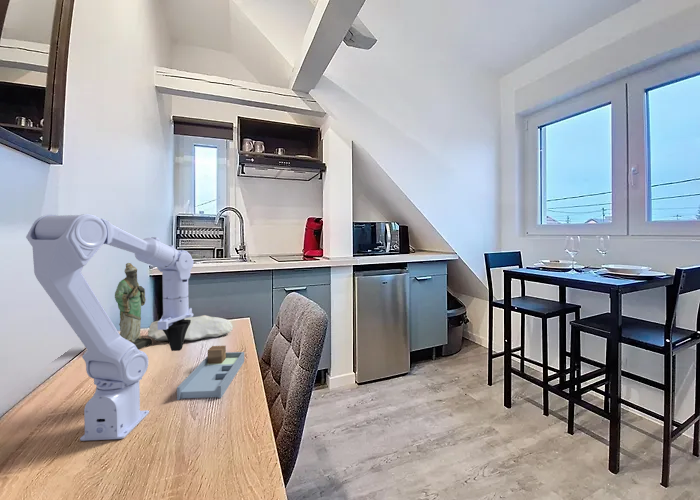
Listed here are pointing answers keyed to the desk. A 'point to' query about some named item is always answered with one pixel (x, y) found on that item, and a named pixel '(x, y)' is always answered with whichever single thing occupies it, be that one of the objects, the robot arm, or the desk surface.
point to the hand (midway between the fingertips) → (176, 349)
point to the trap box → (211, 377)
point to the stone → (196, 328)
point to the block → (216, 354)
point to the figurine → (131, 307)
